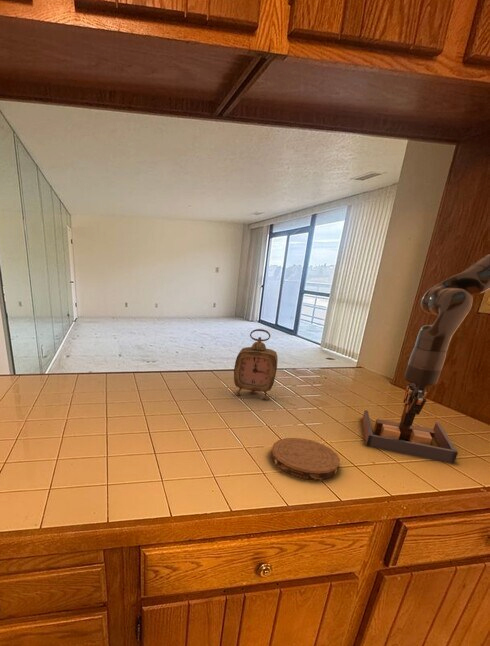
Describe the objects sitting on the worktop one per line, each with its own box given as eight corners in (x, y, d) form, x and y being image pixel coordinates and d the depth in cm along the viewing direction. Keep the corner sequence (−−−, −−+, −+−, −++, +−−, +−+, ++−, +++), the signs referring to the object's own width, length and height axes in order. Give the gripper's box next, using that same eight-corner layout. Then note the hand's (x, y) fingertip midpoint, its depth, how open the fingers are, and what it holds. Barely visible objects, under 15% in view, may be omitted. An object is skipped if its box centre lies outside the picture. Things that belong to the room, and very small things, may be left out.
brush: (374, 433, 103) (383, 404, 99) (373, 429, 105) (382, 400, 101) (431, 444, 97) (442, 413, 93) (428, 439, 100) (439, 409, 96)
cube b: (408, 441, 99) (412, 429, 98) (424, 444, 98) (429, 432, 96) (410, 447, 96) (414, 435, 95) (427, 451, 95) (432, 438, 93)
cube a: (379, 435, 102) (382, 423, 101) (394, 438, 101) (398, 426, 99) (380, 441, 99) (384, 429, 97) (396, 445, 97) (400, 432, 96)
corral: (361, 419, 112) (364, 410, 111) (435, 433, 105) (439, 422, 103) (365, 446, 96) (369, 435, 95) (453, 464, 89) (458, 452, 87)
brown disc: (307, 443, 97) (309, 434, 96) (352, 475, 83) (355, 464, 82) (258, 452, 92) (260, 442, 91) (297, 487, 78) (299, 476, 77)
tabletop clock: (231, 396, 129) (238, 329, 119) (235, 388, 137) (242, 325, 127) (271, 402, 124) (281, 333, 115) (273, 394, 132) (283, 328, 122)
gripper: (448, 374, 85) (426, 436, 92) (435, 360, 97) (416, 415, 104) (412, 370, 88) (393, 430, 95) (404, 356, 100) (388, 411, 107)
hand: (405, 422), depth 99 cm, fingers closed on brush, 2 cm apart
